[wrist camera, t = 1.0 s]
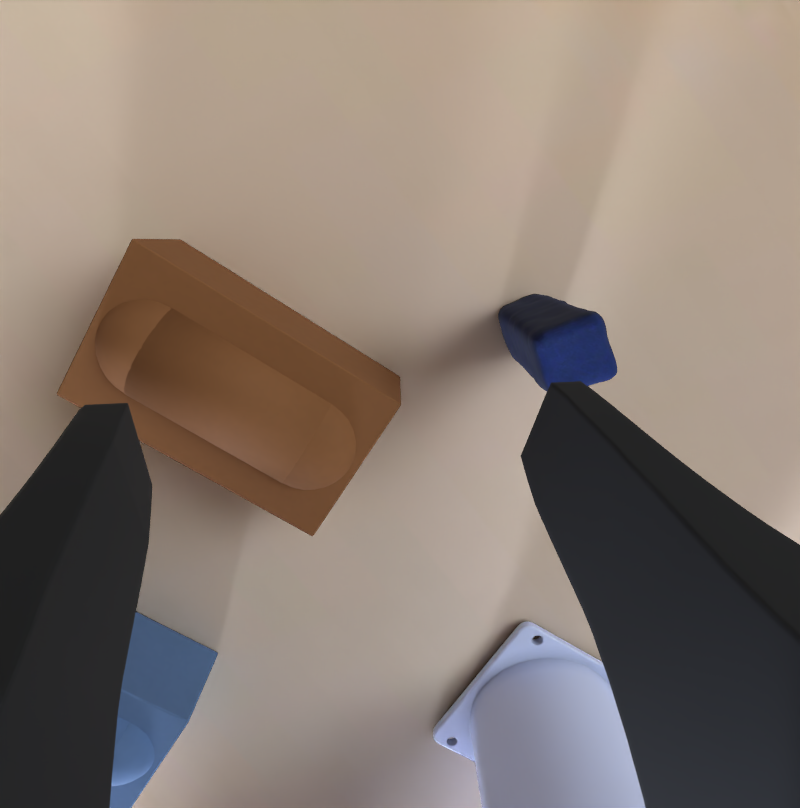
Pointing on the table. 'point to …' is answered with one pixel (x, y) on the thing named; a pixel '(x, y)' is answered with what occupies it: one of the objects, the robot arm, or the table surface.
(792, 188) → the table surface
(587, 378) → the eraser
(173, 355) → the brown lumpy block
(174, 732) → the blue rectangular block
